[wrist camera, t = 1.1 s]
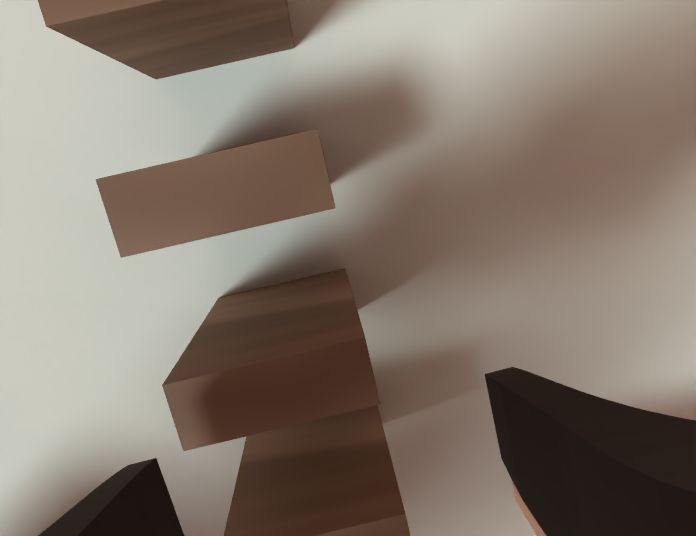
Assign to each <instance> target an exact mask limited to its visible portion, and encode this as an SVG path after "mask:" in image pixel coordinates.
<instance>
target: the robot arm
mask: <svg viewBox="0 0 696 536" xmlns="http://www.w3.org/2000/svg"><path fill="white" fill-rule="evenodd" d="M485 378H486V383H487V388H488V393H489V398H490V403H491V408H492V413H493V418H494V423H495V428H496V433H497V438H498V443H499V448H500V453H501V458H502V460H503V462H504V464H505V466H506V468H507V470H508V473H509V475H510V477H511V479H512V481H513V483H514V485H515V487H516V489H517V491H518V493H519V495H520V497H521V498H522V500H523V501H524V503H525V505H526V506H527V508H528V509H529V511H530V512H531V514H532V515H533V517H534V518H535V520H536V521H537V523H538V524H539V526H540V527H541V529H542V530H543V532H544V533H545V535H546V536H696V421H695V420H689V419H683V418H678V417H674V416H669V415H664V414H659V413H655V412H650V411H646V410H642V409H638V408H634V407H630V406H626V405H623V404H620V403H616V402H613V401H609V400H606V399H603V398H599V397H596V396H593V395H590V394H587V393H584V392H581V391H578V390H576V389H573V388H570V387H567V386H565V385H562V384H559V383H556V382H554V381H551V380H548V379H546V378H543V377H541V376H538V375H535V374H532V373H530V372H527V371H524V370H521V369H518V368H514V367H511V368H507V369H503V370H499V371H495V372H491V373H487V374H485ZM38 536H184V534H183V531H182V528H181V526H180V523H179V520H178V517H177V515H176V512H175V509H174V506H173V503H172V501H171V498H170V495H169V492H168V490H167V487H166V484H165V481H164V479H163V476H162V473H161V470H160V467H159V465H158V462H157V459H156V458H155V459H151V460H147V461H143V462H139V463H135V464H131V465H128V466H126V467H125V468H123V469H121V470H120V471H118V472H117V473H116V474H114V475H113V476H111V477H110V478H109V479H107V480H106V481H105V482H104V483H102V484H101V485H100V486H99V487H97V488H96V489H95V490H94V491H92V492H91V493H90V494H89V495H87V496H86V497H85V498H84V499H83V500H81V501H80V502H79V503H78V504H77V505H75V506H74V507H73V508H72V509H70V510H69V511H68V512H67V513H66V514H64V515H63V516H62V517H61V518H60V519H58V520H57V521H56V522H55V523H53V524H52V525H51V526H50V527H49V528H47V529H46V530H45V531H43V532H42V533H41V534H40V535H38Z"/></svg>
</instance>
